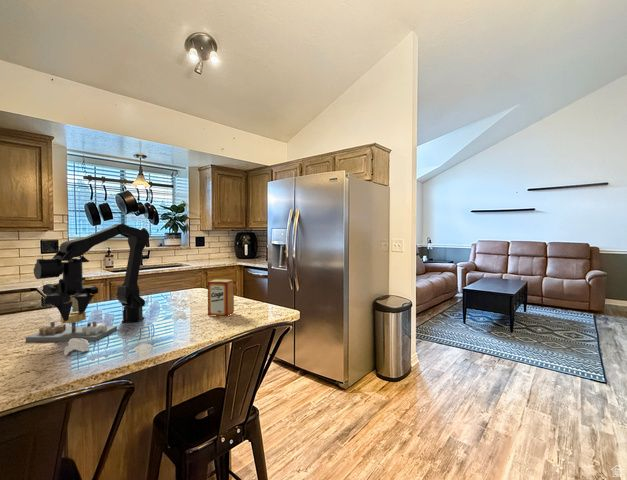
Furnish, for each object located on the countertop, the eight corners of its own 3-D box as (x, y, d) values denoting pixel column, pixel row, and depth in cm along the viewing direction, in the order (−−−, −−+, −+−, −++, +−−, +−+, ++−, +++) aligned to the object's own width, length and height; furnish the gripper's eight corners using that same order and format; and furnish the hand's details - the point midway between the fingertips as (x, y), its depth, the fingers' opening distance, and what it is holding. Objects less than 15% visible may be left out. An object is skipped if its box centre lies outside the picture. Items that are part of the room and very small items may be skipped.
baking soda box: (208, 315, 139) (207, 280, 139) (215, 312, 146) (215, 278, 145) (227, 317, 137) (227, 281, 137) (233, 313, 144) (233, 279, 143)
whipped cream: (62, 354, 98) (60, 339, 98) (88, 346, 103) (86, 332, 103) (65, 359, 93) (63, 343, 93) (92, 351, 97) (90, 336, 97)
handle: (87, 309, 150) (86, 279, 149) (73, 313, 143) (73, 281, 143) (79, 309, 151) (78, 278, 150) (66, 312, 145) (65, 280, 144)
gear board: (117, 330, 119) (116, 316, 119) (95, 341, 107) (95, 325, 107) (54, 330, 118) (53, 316, 118) (25, 341, 106) (25, 325, 106)
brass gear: (90, 317, 116) (90, 311, 116) (76, 323, 109) (75, 316, 109) (71, 317, 116) (71, 311, 116) (55, 323, 109) (55, 316, 109)
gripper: (70, 272, 121) (71, 311, 122) (27, 279, 103) (28, 325, 103) (98, 272, 121) (99, 311, 122) (60, 279, 103) (61, 325, 103)
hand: (73, 317), depth 113 cm, fingers closed on brass gear, 7 cm apart
